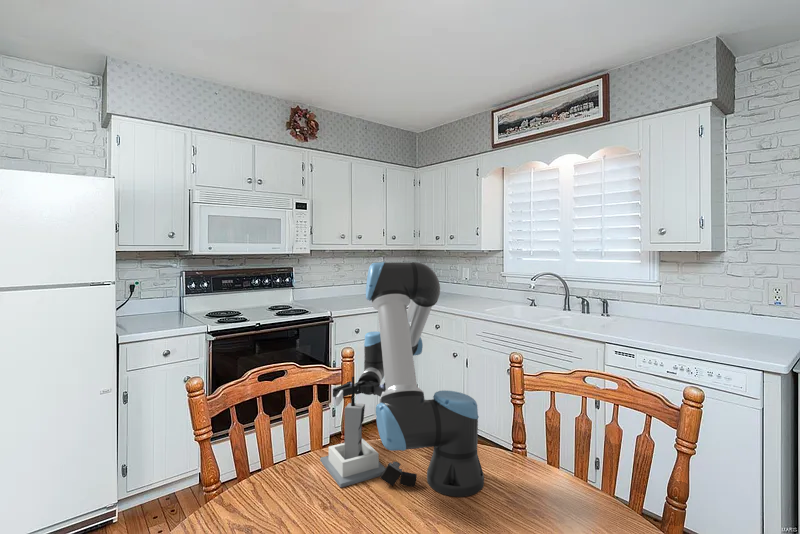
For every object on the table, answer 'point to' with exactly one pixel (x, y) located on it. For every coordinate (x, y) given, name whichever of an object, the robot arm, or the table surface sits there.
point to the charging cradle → (352, 465)
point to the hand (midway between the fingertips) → (358, 402)
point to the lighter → (398, 475)
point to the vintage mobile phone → (353, 427)
